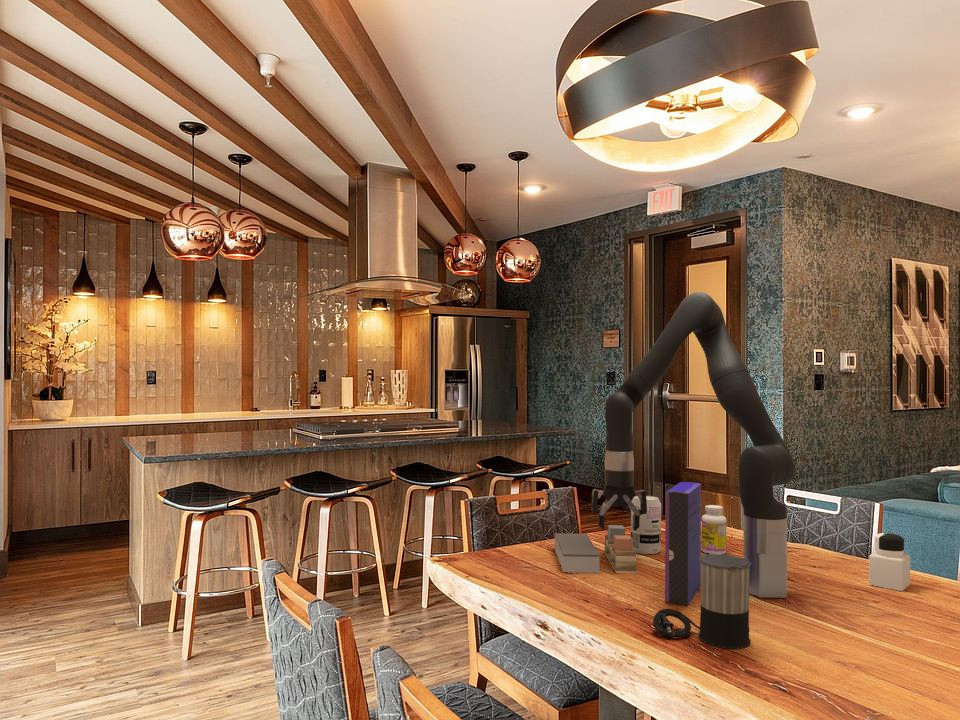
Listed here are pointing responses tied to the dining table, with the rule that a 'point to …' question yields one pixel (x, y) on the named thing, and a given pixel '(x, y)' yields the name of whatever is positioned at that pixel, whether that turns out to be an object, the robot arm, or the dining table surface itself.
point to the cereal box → (682, 542)
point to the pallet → (620, 558)
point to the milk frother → (717, 604)
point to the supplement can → (647, 527)
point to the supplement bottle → (713, 530)
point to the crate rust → (622, 543)
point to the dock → (576, 553)
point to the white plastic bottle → (889, 563)
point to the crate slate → (615, 531)
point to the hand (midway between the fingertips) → (618, 529)
